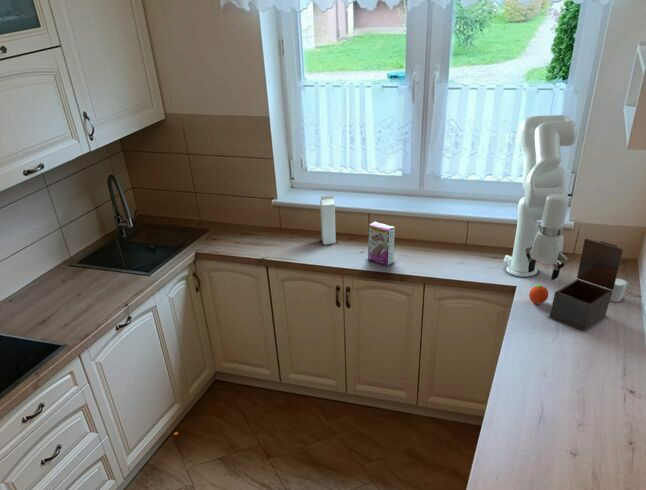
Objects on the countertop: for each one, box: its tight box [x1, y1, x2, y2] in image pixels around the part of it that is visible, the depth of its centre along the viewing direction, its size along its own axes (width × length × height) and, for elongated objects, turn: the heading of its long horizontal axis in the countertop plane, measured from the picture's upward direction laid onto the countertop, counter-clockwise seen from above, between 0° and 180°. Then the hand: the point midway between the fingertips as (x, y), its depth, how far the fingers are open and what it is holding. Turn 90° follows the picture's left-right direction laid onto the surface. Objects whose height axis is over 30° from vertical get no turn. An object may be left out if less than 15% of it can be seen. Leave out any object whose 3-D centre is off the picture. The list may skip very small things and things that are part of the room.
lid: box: [576, 238, 624, 290], centre depth 212 cm, size 16×14×5 cm
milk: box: [319, 195, 337, 245], centre depth 279 cm, size 6×6×22 cm
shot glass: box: [606, 277, 629, 303], centre depth 227 cm, size 7×7×7 cm
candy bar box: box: [367, 221, 396, 266], centre depth 260 cm, size 11×5×16 cm, turn 48°
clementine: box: [528, 284, 549, 305], centre depth 227 cm, size 8×7×7 cm
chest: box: [549, 278, 612, 332], centre depth 216 cm, size 15×14×10 cm
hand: (542, 275), depth 222 cm, fingers open, 9 cm apart
